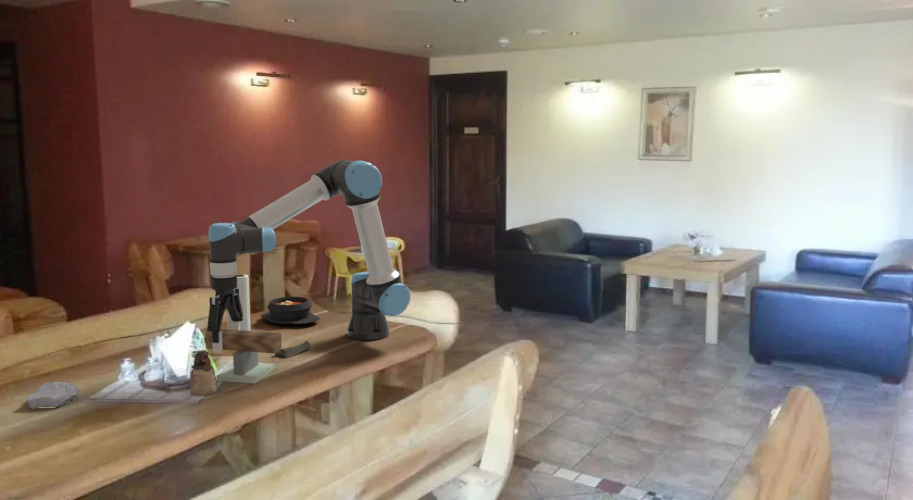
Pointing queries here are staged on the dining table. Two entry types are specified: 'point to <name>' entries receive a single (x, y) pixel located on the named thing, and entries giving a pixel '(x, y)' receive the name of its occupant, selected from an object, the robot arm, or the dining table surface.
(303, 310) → the casserole
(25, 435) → the dining table surface
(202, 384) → the figurine
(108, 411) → the dining table surface
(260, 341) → the beam
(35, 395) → the stone block
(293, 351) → the dark grey oblong piece
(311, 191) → the robot arm
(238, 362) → the stand
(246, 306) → the paper towel roll
